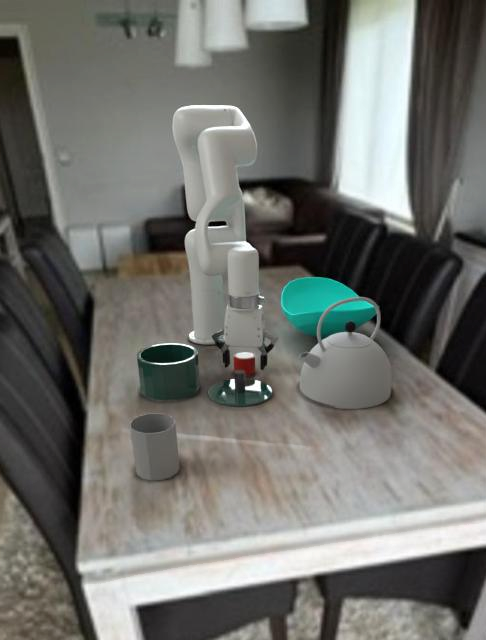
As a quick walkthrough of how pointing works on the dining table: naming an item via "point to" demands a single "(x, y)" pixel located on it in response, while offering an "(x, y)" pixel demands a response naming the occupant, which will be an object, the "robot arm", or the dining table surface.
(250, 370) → the red short cylinder
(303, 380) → the kettle
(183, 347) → the pot
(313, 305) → the table top decor
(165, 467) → the cup
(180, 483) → the dining table surface
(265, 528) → the dining table surface
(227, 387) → the pot lid
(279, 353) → the dining table surface
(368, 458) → the dining table surface
